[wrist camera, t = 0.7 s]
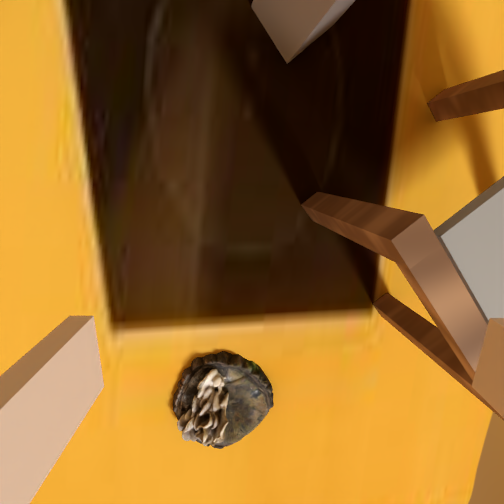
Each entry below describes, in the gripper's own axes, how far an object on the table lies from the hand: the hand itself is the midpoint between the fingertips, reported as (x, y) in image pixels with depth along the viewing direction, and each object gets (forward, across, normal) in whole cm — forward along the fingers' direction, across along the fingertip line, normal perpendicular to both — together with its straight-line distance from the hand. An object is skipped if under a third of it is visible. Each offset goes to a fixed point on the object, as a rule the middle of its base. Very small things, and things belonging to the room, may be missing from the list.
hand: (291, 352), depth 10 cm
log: (+20, -4, -19) cm, 28 cm away
